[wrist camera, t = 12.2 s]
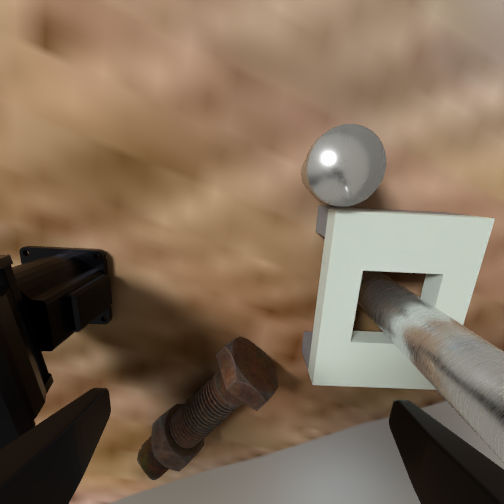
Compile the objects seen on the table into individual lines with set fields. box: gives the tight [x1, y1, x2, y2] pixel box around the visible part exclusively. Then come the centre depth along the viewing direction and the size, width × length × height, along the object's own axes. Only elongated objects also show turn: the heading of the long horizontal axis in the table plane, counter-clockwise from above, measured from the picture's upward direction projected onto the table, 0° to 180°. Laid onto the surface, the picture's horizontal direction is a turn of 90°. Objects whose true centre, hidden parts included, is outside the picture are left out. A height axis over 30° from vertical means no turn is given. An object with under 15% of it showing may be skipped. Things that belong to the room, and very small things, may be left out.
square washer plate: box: [302, 206, 495, 390], centre depth 19 cm, size 10×13×4 cm
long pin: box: [357, 271, 504, 463], centre depth 13 cm, size 4×4×16 cm
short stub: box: [301, 124, 386, 207], centre depth 16 cm, size 4×4×5 cm
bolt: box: [137, 337, 278, 480], centre depth 22 cm, size 6×5×15 cm
